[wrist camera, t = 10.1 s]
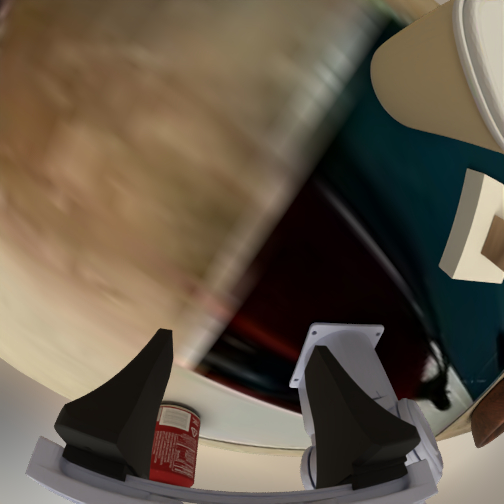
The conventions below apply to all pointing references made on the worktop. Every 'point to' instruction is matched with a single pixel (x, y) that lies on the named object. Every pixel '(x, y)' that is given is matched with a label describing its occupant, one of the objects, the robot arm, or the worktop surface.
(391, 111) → the coffee cup
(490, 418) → the wooden bowl
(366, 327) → the robot arm
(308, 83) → the worktop surface
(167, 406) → the soda can
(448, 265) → the base brick
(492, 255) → the walnut brick
